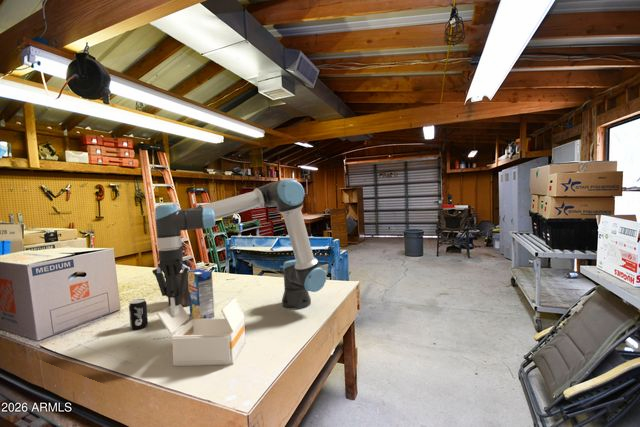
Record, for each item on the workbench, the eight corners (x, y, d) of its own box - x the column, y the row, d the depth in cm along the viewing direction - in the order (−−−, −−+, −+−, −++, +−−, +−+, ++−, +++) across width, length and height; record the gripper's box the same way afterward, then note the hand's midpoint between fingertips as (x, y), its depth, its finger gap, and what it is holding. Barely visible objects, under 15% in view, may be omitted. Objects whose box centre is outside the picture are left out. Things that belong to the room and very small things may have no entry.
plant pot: (190, 296, 166) (189, 269, 165) (210, 299, 159) (208, 271, 158) (165, 306, 151) (163, 276, 150) (185, 310, 144) (183, 279, 143)
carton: (246, 342, 107) (244, 316, 107) (232, 366, 92) (230, 336, 91) (194, 343, 108) (192, 318, 107) (171, 367, 92) (170, 337, 92)
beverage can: (151, 324, 127) (149, 298, 127) (137, 331, 121) (135, 304, 120) (140, 323, 129) (139, 297, 129) (126, 329, 123) (125, 302, 123)
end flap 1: (189, 317, 106) (178, 300, 106) (171, 332, 93) (158, 313, 93) (188, 318, 106) (176, 300, 106) (170, 333, 93) (156, 314, 93)
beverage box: (200, 321, 128) (197, 274, 127) (190, 316, 135) (187, 271, 135) (214, 317, 133) (212, 271, 132) (203, 311, 141) (201, 268, 140)
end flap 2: (244, 316, 105) (234, 297, 105) (233, 331, 93) (222, 309, 93) (243, 316, 105) (233, 297, 105) (231, 331, 93) (221, 310, 93)
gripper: (193, 245, 102) (198, 309, 103) (158, 247, 102) (164, 311, 103) (182, 249, 95) (187, 317, 96) (145, 251, 95) (151, 319, 96)
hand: (175, 314), depth 99 cm, fingers closed
